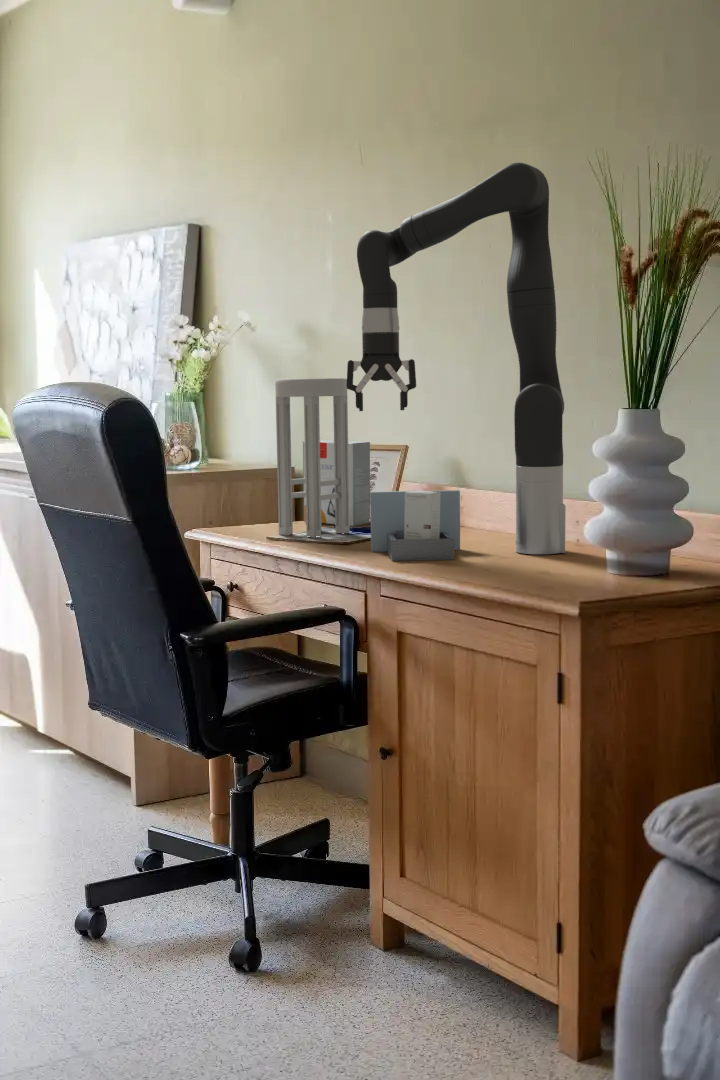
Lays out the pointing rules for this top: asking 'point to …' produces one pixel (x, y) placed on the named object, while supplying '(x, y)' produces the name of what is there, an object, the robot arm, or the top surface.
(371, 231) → the robot arm
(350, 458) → the hard drive box
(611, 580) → the top surface
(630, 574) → the top surface
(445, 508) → the backboard
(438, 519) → the skincare box
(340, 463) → the stool
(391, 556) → the grey open tray
